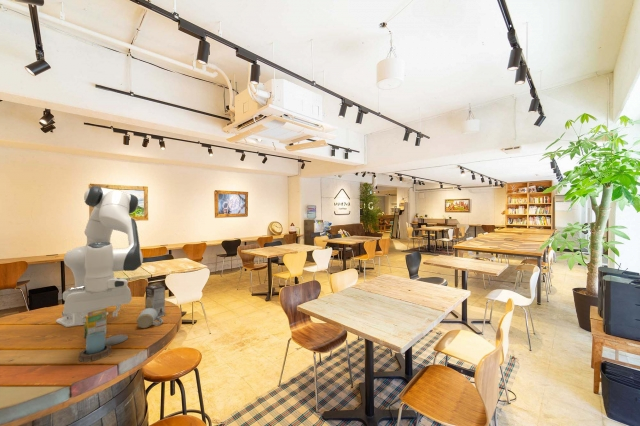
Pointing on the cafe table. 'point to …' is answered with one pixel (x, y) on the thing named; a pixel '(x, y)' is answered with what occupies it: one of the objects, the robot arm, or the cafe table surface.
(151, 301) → the coffee box
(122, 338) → the coaster
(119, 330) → the cafe table surface
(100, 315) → the crayon box
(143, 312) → the ceramic mug
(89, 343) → the blue pot
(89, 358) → the ring holder
